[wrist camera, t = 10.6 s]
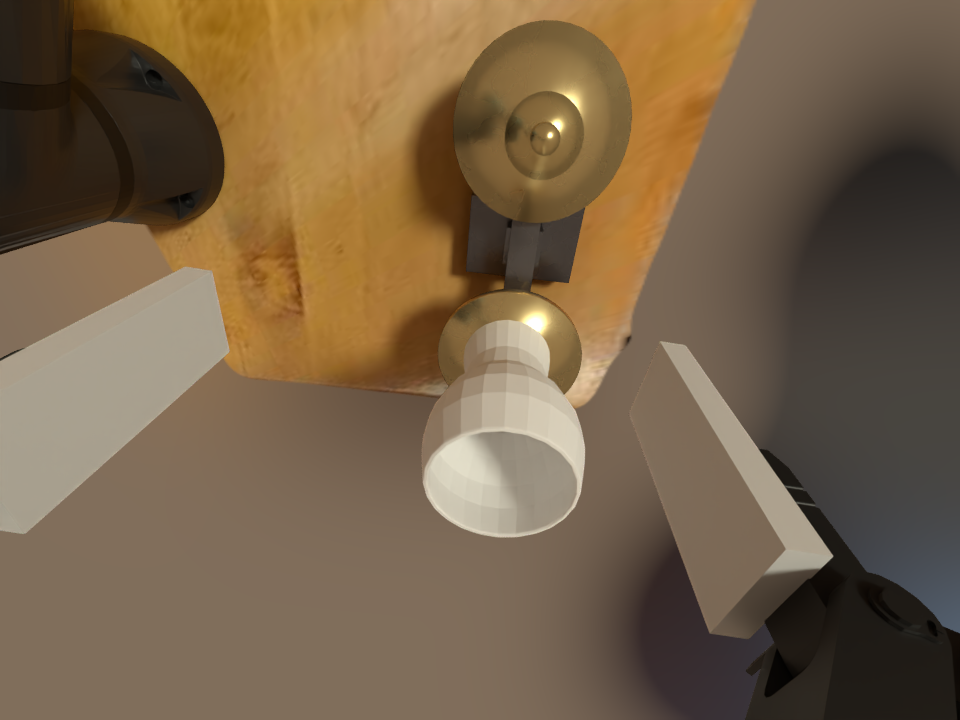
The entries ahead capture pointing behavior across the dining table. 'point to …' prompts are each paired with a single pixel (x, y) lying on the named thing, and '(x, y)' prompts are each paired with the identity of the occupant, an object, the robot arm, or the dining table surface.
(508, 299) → the balance
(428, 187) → the dining table surface
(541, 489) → the cup
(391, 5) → the dining table surface
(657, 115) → the dining table surface
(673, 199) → the dining table surface
